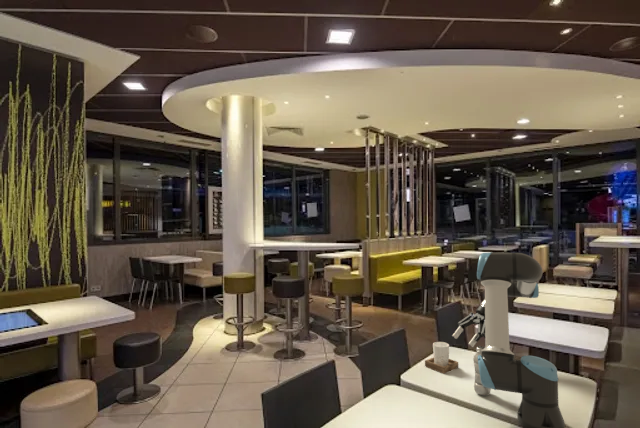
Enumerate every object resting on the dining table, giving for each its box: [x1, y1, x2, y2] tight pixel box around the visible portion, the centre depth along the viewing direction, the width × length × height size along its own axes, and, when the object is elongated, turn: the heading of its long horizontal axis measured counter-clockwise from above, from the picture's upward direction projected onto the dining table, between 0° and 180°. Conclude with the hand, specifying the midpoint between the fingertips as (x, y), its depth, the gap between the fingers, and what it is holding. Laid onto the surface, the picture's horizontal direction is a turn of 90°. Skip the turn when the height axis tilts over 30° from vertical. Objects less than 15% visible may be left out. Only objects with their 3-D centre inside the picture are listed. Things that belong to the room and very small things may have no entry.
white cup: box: [432, 341, 450, 367], centre depth 193 cm, size 8×8×10 cm
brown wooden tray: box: [424, 357, 459, 375], centre depth 193 cm, size 12×12×3 cm
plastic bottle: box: [472, 345, 492, 397], centre depth 164 cm, size 6×7×20 cm
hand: (462, 341), depth 196 cm, fingers open, 13 cm apart
